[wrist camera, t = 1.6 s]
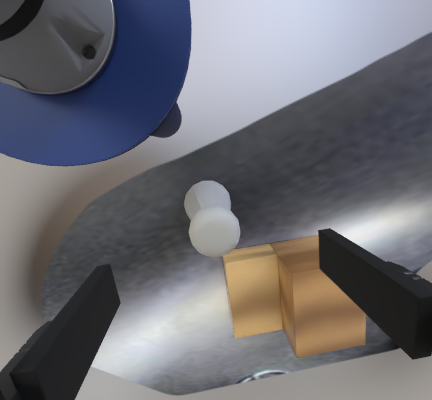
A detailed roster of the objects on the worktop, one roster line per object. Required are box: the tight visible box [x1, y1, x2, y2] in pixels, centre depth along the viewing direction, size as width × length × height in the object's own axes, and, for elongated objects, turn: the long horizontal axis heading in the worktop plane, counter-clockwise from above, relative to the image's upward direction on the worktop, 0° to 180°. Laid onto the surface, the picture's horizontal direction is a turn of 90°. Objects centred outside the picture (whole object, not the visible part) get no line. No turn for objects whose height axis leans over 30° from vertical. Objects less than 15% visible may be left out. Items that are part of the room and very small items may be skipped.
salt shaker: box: [184, 181, 240, 257], centre depth 24 cm, size 6×6×13 cm
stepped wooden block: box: [222, 235, 366, 358], centre depth 30 cm, size 12×16×8 cm
